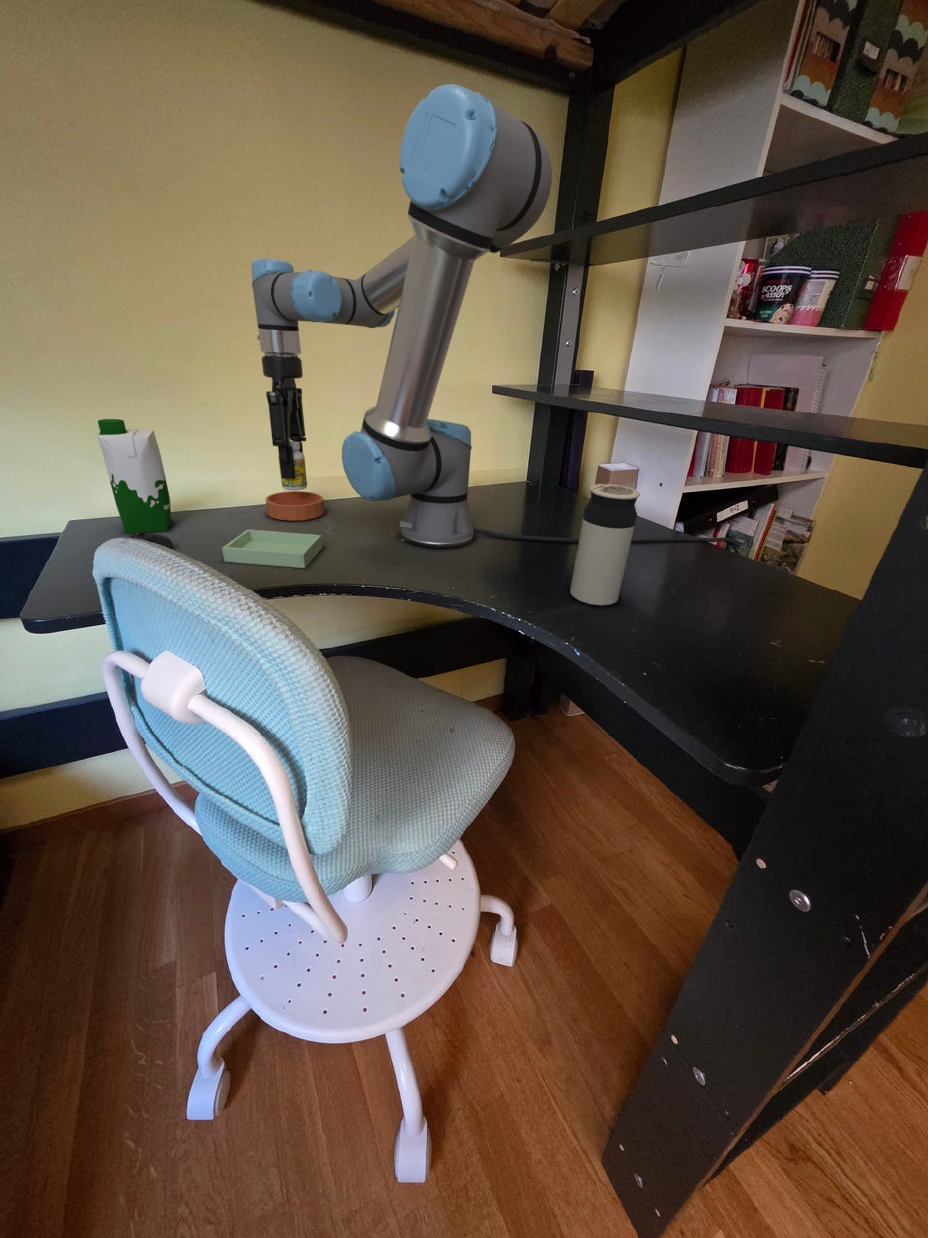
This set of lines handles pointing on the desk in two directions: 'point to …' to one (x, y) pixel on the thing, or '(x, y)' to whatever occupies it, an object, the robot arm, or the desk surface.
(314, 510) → the bowl
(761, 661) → the desk surface
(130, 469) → the milk carton
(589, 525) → the travel mug
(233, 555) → the tray
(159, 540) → the game controller
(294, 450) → the supplement bottle
